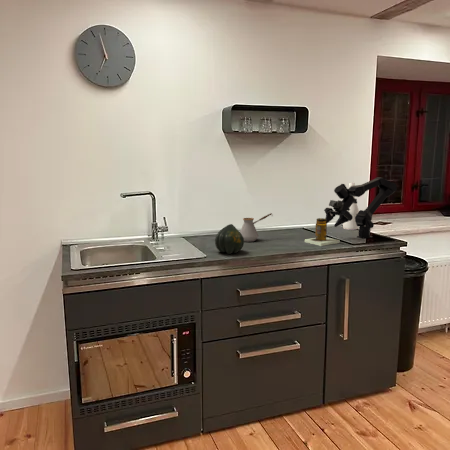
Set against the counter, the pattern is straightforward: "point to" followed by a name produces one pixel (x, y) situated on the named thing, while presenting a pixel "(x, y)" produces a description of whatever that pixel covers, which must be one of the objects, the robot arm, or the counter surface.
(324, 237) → the condiment
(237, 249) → the squash
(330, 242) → the board
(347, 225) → the wine bottle
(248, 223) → the coffee pot
